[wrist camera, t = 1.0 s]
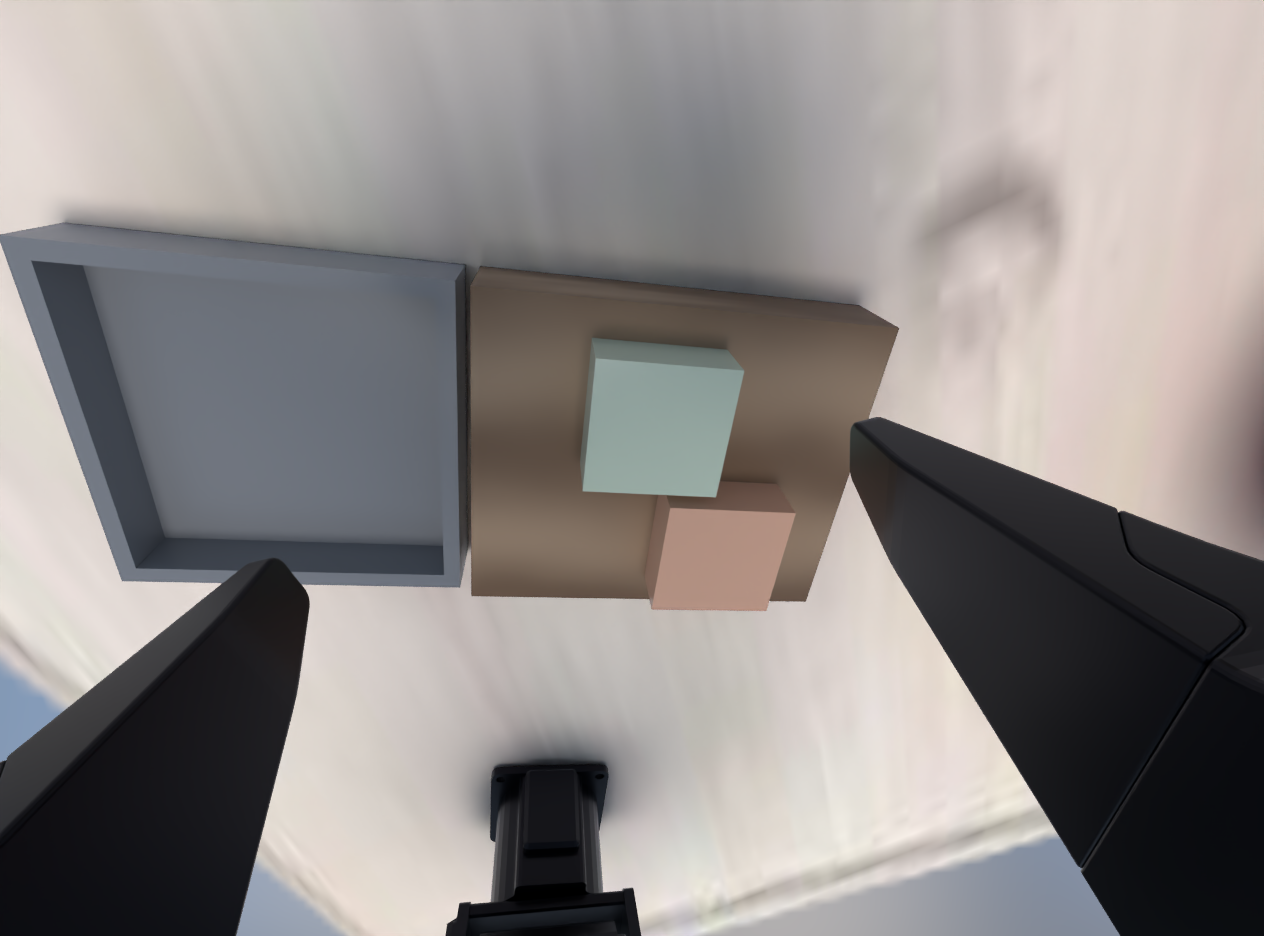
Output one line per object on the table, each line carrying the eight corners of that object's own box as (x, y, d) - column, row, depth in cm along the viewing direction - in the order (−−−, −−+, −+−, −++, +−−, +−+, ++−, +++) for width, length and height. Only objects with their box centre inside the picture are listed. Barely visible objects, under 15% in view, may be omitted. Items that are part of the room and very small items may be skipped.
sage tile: (703, 468, 22) (715, 497, 20) (580, 461, 21) (582, 491, 19) (727, 349, 20) (744, 370, 18) (591, 337, 19) (596, 358, 17)
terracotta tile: (751, 577, 25) (766, 610, 23) (644, 574, 24) (651, 609, 22) (777, 484, 23) (795, 513, 21) (660, 478, 22) (670, 508, 20)
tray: (467, 549, 26) (460, 587, 24) (160, 540, 24) (121, 581, 22) (465, 264, 20) (455, 280, 18) (62, 222, 18) (-3, 235, 16)
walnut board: (782, 558, 28) (805, 601, 26) (479, 549, 26) (471, 595, 24) (859, 305, 23) (899, 328, 20) (480, 266, 20) (470, 285, 18)
